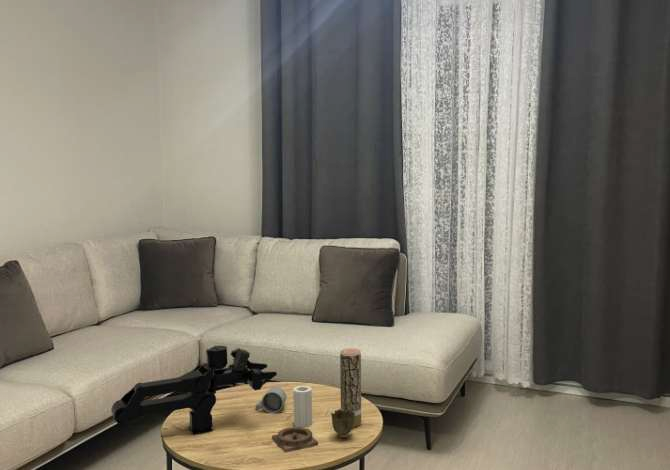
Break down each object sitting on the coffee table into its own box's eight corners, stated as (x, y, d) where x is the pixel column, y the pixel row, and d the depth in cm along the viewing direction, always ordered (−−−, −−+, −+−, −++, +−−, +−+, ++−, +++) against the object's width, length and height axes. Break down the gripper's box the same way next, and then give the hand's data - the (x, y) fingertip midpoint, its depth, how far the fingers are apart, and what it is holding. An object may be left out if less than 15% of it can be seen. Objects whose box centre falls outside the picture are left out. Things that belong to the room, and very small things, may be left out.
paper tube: (359, 429, 222) (358, 355, 218) (339, 427, 223) (338, 353, 220) (362, 420, 228) (362, 348, 225) (343, 419, 230) (342, 348, 226)
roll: (302, 428, 222) (302, 393, 221) (290, 423, 226) (289, 389, 225) (315, 423, 227) (315, 388, 225) (303, 418, 231) (302, 384, 229)
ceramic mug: (287, 404, 243) (286, 384, 242) (283, 413, 235) (282, 392, 234) (258, 404, 245) (257, 384, 244) (253, 413, 236) (252, 392, 236)
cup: (341, 430, 221) (341, 406, 220) (359, 436, 216) (359, 412, 215) (326, 438, 215) (326, 414, 214) (345, 444, 210) (344, 419, 209)
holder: (285, 452, 205) (284, 443, 205) (272, 438, 215) (272, 430, 215) (318, 444, 210) (317, 436, 210) (303, 432, 220) (303, 423, 219)
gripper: (235, 360, 215) (281, 353, 222) (218, 345, 232) (261, 339, 239) (236, 394, 217) (281, 386, 224) (219, 377, 233) (262, 370, 240)
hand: (271, 369), depth 231 cm, fingers open, 9 cm apart
